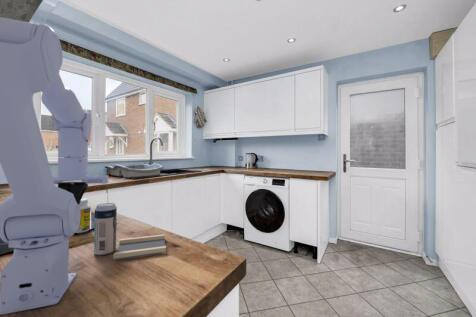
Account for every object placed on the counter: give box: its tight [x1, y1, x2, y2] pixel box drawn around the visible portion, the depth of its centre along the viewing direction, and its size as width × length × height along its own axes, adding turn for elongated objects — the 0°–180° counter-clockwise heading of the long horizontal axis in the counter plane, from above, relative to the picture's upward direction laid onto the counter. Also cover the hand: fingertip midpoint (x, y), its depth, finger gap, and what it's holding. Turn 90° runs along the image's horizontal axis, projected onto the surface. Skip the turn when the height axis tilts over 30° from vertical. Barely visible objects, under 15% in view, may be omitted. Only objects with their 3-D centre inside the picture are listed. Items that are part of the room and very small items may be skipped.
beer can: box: [93, 202, 118, 256], centre depth 54 cm, size 5×5×12 cm
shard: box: [69, 235, 94, 248], centre depth 59 cm, size 11×8×2 cm
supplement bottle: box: [75, 198, 92, 234], centre depth 69 cm, size 6×6×10 cm
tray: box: [112, 234, 167, 262], centre depth 56 cm, size 10×12×2 cm
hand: (72, 214), depth 52 cm, fingers closed
